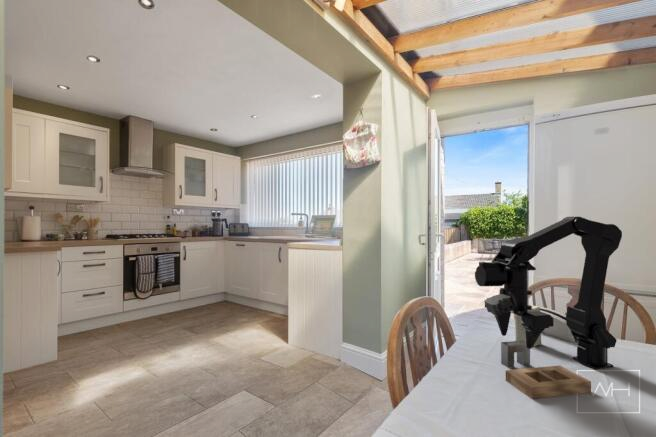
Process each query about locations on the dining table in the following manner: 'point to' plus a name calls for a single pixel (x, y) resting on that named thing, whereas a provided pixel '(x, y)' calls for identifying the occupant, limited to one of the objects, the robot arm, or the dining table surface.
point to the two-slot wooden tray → (547, 381)
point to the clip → (511, 348)
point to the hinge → (558, 325)
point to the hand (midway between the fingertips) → (515, 341)
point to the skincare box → (521, 330)
